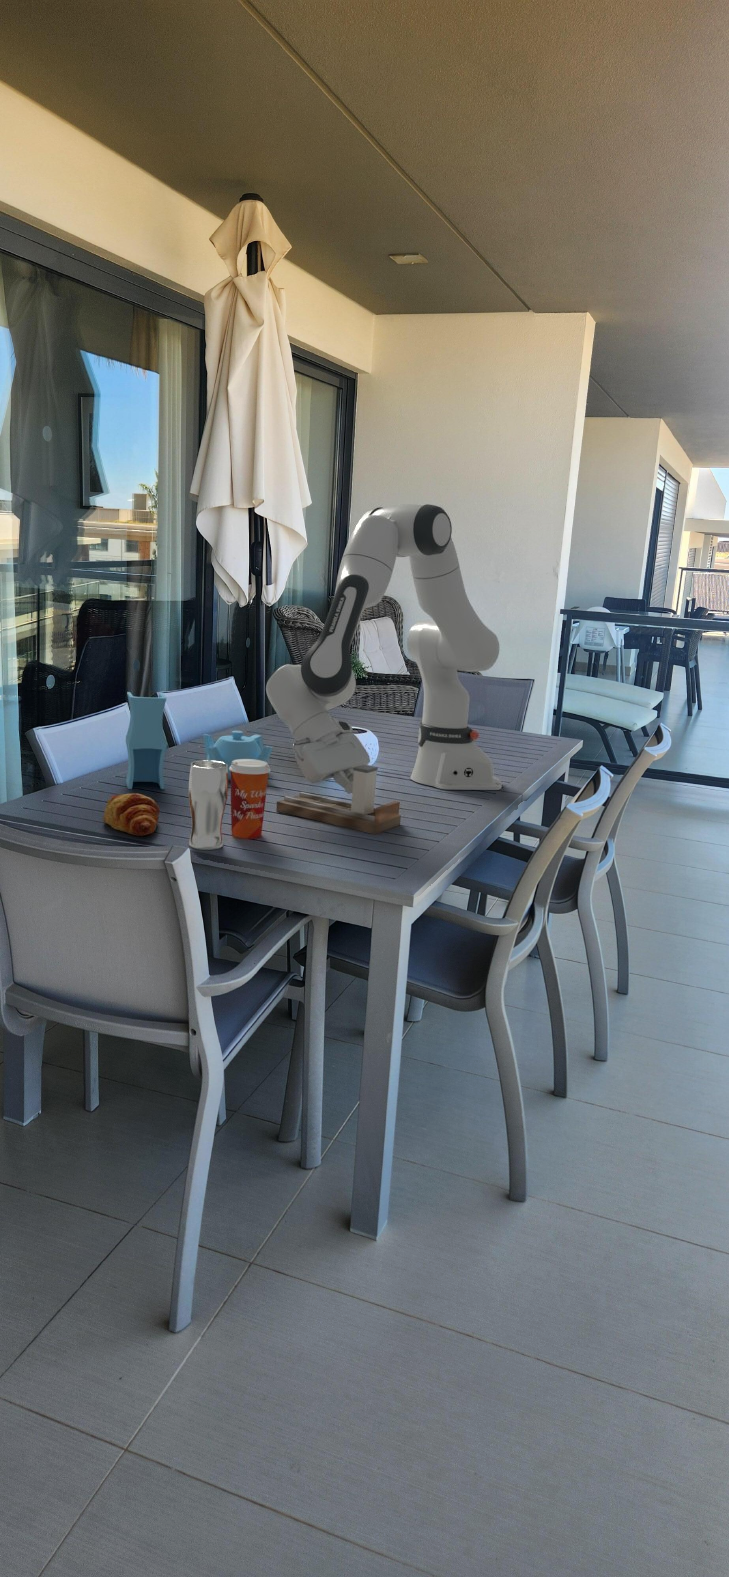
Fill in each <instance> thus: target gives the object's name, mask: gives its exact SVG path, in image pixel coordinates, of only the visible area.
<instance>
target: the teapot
mask: <svg viewBox="0 0 729 1577" xmlns="http://www.w3.org/2000/svg"><path fill="white" fill-rule="evenodd" d="M230 732H231V735H229V734H228V735H223V736H220V737H219V738H218V739H217V740H216V742H215V741H214V739H213V737H212V735H211V734H206V733H204V734H202V739H203V746H204V752H205V755H206V756H205V757H206V760H209V761H219V762H223V763H226V764H227V765H228V782H231V771H230V770H229V767H230V766H231V763H232V761H234V760H238V759H254V760H261V761H264V762H267V763H268V762H269V760H270V757H271V755H272V752H273V750H274V746H269V745H266V746H264V741H263V737H262V735H260V734H257V733H256V734H253V735H252V736H246V735H244V731H242V730H233V731H230Z"/></svg>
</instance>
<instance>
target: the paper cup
mask: <svg viewBox="0 0 729 1577" xmlns="http://www.w3.org/2000/svg"><path fill="white" fill-rule="evenodd" d="M229 770H230V771H231V781H230V813H231V814H230V819H231V820H230V822H231V825H230V826H231V828H230V829H231V835H232V837H234V838H236V839H243V840H255V839H258V838H260V837H261V836H262V830H263V824H264V816H265V808H266V799H267V797H266V796H267V791H268V790H267V789H268V782H269V781H268V779H269V773H271V770H272V769H270V765H269V764H268V762H264V761H261V760H254V759H238V760H234V761H232V763H231V766H230V767H229Z"/></svg>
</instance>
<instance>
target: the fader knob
mask: <svg viewBox="0 0 729 1577" xmlns="http://www.w3.org/2000/svg"><path fill="white" fill-rule="evenodd" d="M378 769H379V767H378V766H375V765H369V764H367V765H365V764H364V765H360V766H357V767H354V769H353V770H354V778H353V791H352V793H351V803H352V804H351V811H353V812H357V813H362V814H366V815H367V814H369V813H372V812H374V808H375V800H376V785H377V776H378V775H377V774H378Z"/></svg>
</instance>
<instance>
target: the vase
mask: <svg viewBox="0 0 729 1577" xmlns="http://www.w3.org/2000/svg"><path fill="white" fill-rule="evenodd" d="M126 695H127V699H128V704H129V725H128V729H127V732H126V735H125V744H126V750H127V757H128V760H127V761H128V763H127V765H128V766H127V773H126V774H127V775H126V780H125V784H126V787H127V789H128V790H132V789H133V785H134V782H135V783H137V782H145V783H146V782H147V783H148V782H149V783H151V782H152V783H157V784H158V787H159V789H161V790H165V789H166V788H165V781H164V761H165V756H166V751H167V742H166V738H165V735H164V733H165V732H164V728H163V717H164V710H165V706H166V702H167V696H166V695H165V694H164V692H159V694H158V697H147V696H145V697H144V696H134V695H133V694H132V693H131V692H130V691H127V693H126Z"/></svg>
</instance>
